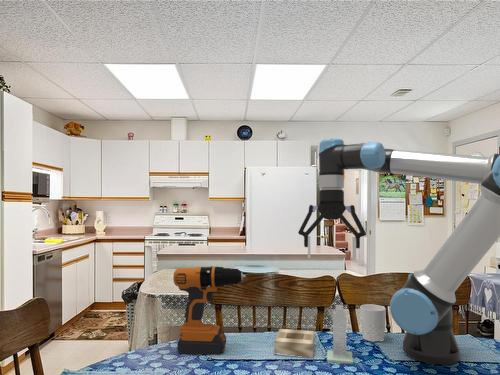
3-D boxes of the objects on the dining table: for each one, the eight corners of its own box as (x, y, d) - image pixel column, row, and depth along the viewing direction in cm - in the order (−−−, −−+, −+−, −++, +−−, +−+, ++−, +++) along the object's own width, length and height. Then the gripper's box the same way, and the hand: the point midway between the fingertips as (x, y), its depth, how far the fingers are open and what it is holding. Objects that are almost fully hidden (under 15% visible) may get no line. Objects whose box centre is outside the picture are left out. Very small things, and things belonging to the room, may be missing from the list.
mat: (351, 354, 111) (351, 352, 111) (353, 364, 104) (353, 361, 104) (327, 352, 112) (327, 350, 112) (326, 361, 106) (326, 359, 106)
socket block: (314, 344, 119) (314, 331, 119) (312, 358, 108) (312, 344, 108) (279, 341, 121) (279, 328, 121) (274, 354, 110) (274, 340, 110)
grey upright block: (345, 352, 111) (345, 305, 111) (346, 360, 105) (346, 310, 106) (333, 351, 111) (333, 304, 112) (333, 359, 106) (333, 309, 107)
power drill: (246, 346, 117) (246, 264, 118) (244, 355, 110) (245, 268, 111) (177, 344, 118) (177, 263, 119) (171, 354, 111) (171, 267, 112)
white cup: (365, 332, 130) (365, 303, 130) (389, 337, 125) (388, 306, 125) (357, 339, 123) (356, 308, 124) (381, 344, 119) (381, 312, 119)
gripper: (371, 189, 119) (371, 257, 118) (291, 189, 123) (291, 255, 122) (375, 189, 112) (375, 261, 111) (290, 189, 116) (290, 259, 115)
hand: (331, 258), depth 117 cm, fingers open, 13 cm apart
